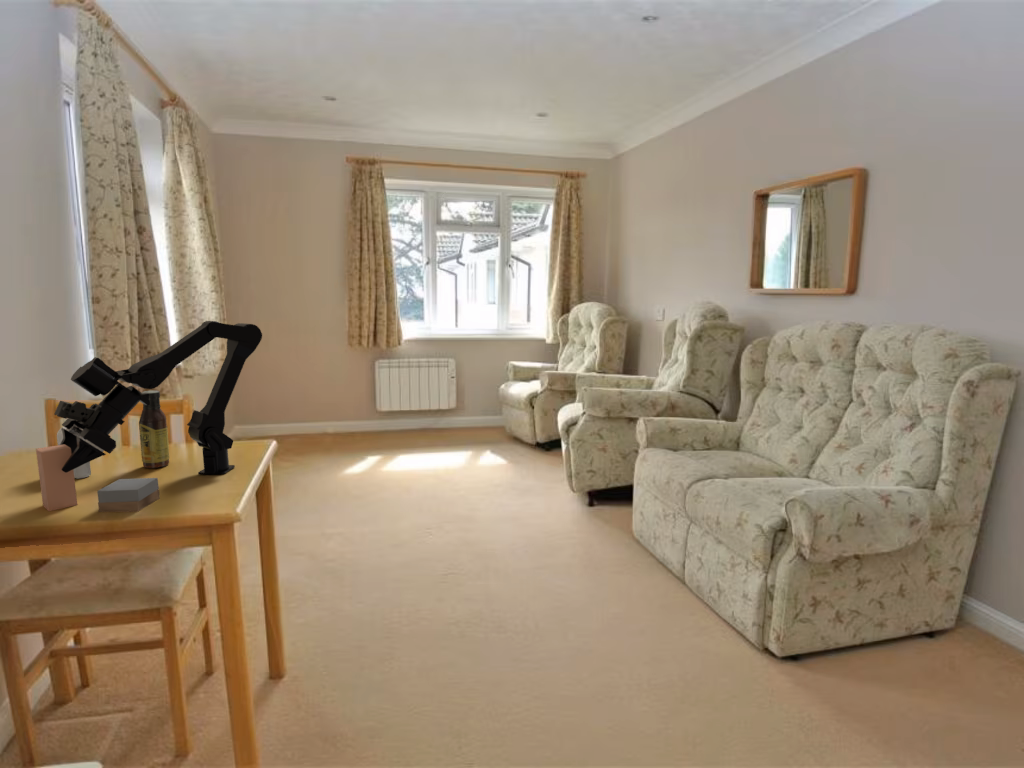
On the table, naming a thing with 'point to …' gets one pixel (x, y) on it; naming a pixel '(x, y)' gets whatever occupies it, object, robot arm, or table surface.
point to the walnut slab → (129, 504)
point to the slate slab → (128, 490)
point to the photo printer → (81, 470)
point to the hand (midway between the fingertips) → (58, 467)
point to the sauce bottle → (153, 433)
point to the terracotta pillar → (56, 477)
